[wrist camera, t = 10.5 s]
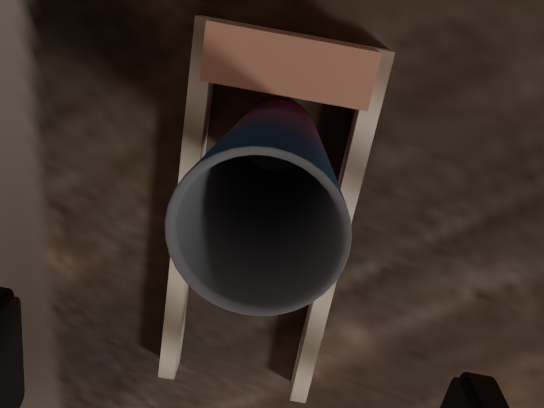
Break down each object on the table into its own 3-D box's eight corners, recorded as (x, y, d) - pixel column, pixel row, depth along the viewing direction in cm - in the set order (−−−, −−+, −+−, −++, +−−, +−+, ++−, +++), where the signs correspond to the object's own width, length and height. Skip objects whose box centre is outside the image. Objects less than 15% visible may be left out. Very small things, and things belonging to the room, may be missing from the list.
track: (202, 15, 29) (182, 16, 24) (389, 49, 29) (405, 56, 24) (165, 359, 39) (146, 406, 34) (305, 384, 39) (305, 435, 34)
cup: (319, 72, 30) (332, 126, 16) (339, 175, 32) (366, 300, 18) (213, 97, 31) (138, 168, 17) (240, 195, 33) (194, 329, 19)
